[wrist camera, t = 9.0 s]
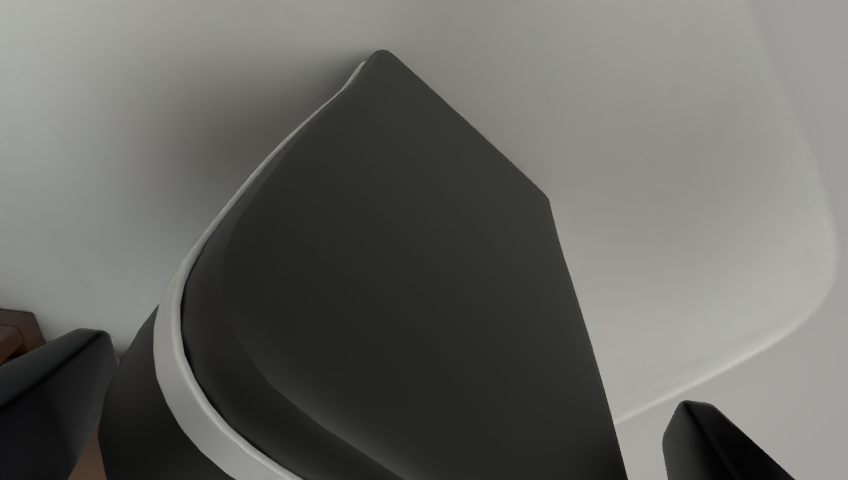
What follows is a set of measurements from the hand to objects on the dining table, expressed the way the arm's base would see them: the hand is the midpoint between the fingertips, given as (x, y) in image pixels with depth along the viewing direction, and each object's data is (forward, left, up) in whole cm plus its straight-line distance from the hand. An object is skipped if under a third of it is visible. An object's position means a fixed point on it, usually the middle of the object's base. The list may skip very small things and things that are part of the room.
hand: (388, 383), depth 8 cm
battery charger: (0, 0, -9) cm, 9 cm away
